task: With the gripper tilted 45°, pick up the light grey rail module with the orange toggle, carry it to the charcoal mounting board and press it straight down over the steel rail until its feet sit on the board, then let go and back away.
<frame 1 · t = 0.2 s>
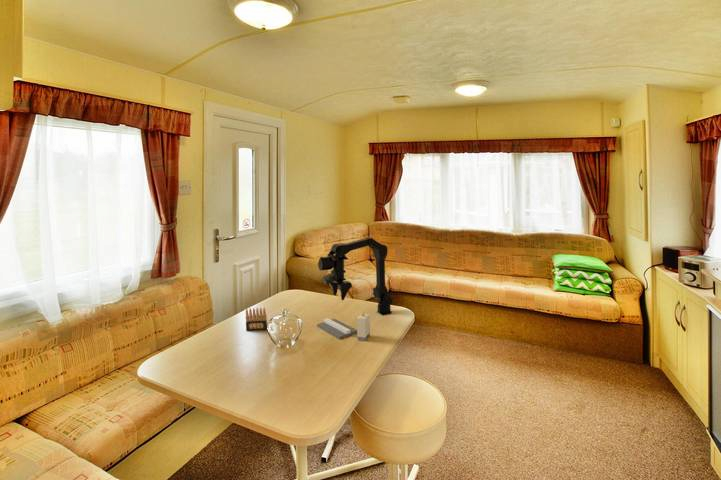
hand: (338, 297, 178), 14 cm above the table, tool pointing down, fingers open, 9 cm apart
ammunition clip: (257, 330, 176), on the table
rail module: (363, 337, 163), on the table
mounting board: (336, 329, 174), on the table
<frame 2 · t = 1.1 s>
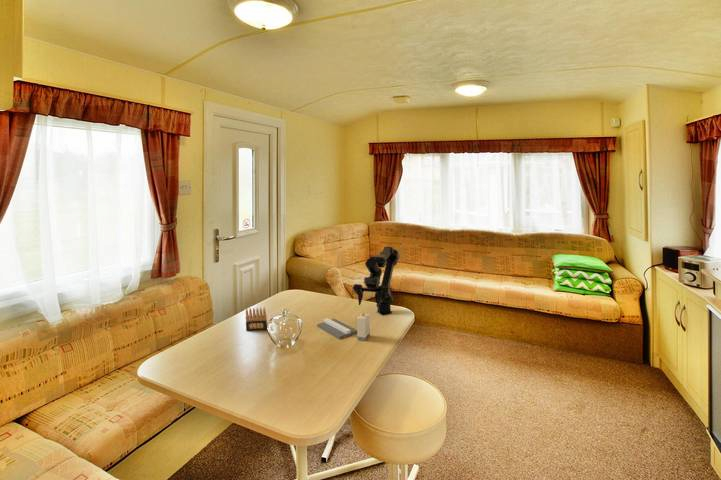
hand: (368, 305, 168), 13 cm above the table, tool tilted 45°, fingers open, 9 cm apart
nothing on the table moved.
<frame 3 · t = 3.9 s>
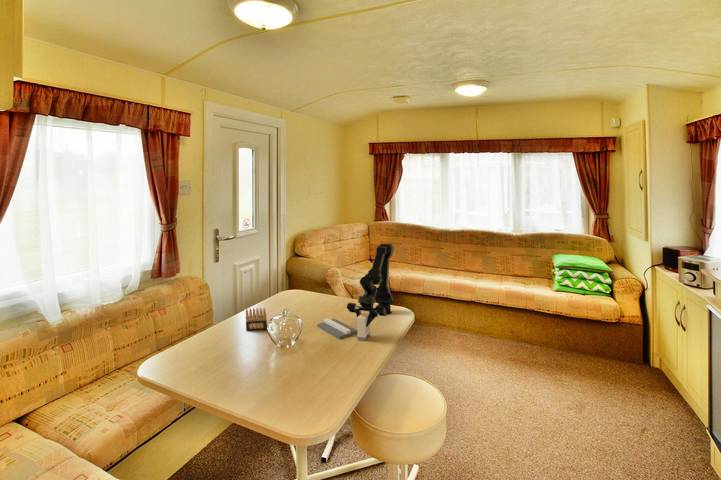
hand: (362, 326, 161), 7 cm above the table, tool tilted 45°, fingers closed on rail module, 4 cm apart
rail module: (363, 337, 163), on the table, touching gripper
everything else where it was.
when the fingers open (8 cm above the table, at t = 9.2 s): rail module stays where it is, resting on mounting board.
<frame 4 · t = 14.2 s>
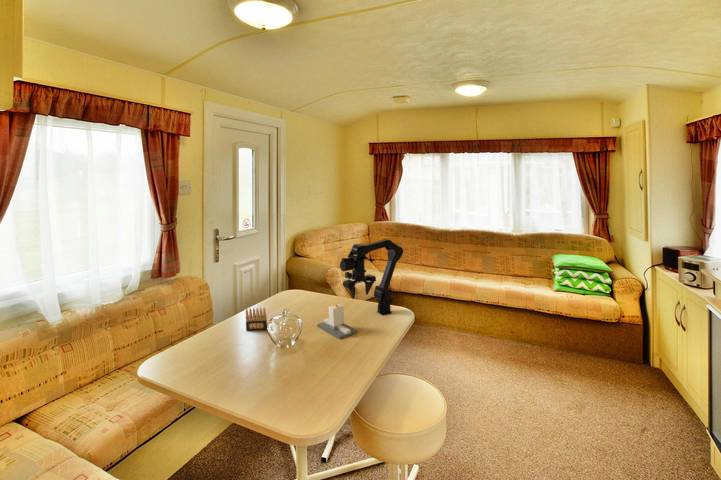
hand: (360, 296, 183), 13 cm above the table, tool pointing down, fingers open, 9 cm apart
rail module: (336, 327, 174), point 1 cm above the table, touching mounting board
everything else where it was.
at the end: rail module 0.0 cm off-centre on the mounting board, point 1.2 cm above the mounting board's base; rail module tilted 0°; the gripper is holding nothing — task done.
